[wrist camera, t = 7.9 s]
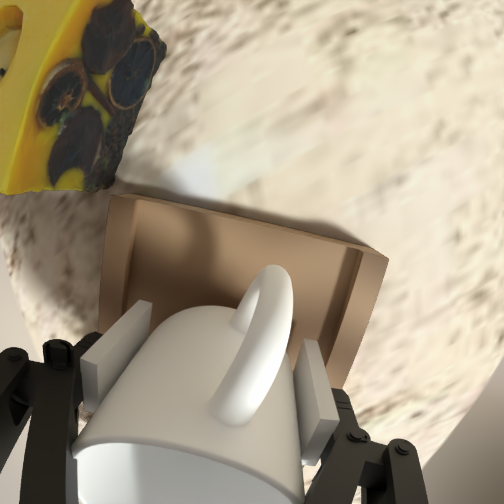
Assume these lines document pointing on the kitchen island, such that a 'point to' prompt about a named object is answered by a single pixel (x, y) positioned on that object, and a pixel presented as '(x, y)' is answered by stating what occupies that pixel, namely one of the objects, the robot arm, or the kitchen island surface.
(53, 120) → the candle
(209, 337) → the cup
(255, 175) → the kitchen island surface
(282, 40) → the kitchen island surface
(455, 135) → the kitchen island surface
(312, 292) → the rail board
